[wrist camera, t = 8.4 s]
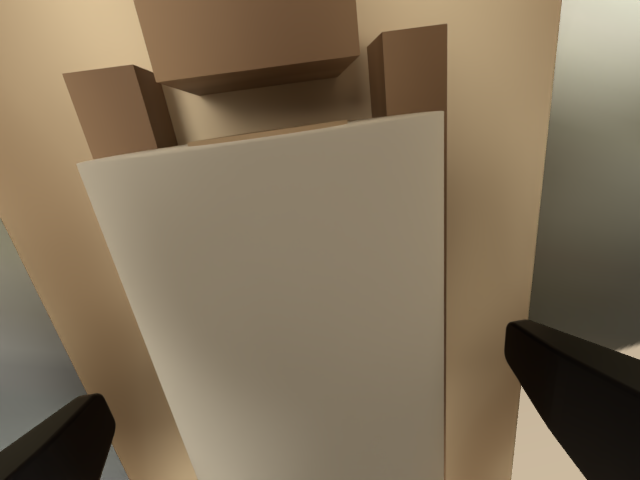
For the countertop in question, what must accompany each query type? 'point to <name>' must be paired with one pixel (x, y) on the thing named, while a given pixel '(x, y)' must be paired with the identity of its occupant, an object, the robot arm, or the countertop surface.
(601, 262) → the countertop surface
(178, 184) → the roll
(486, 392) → the holder
